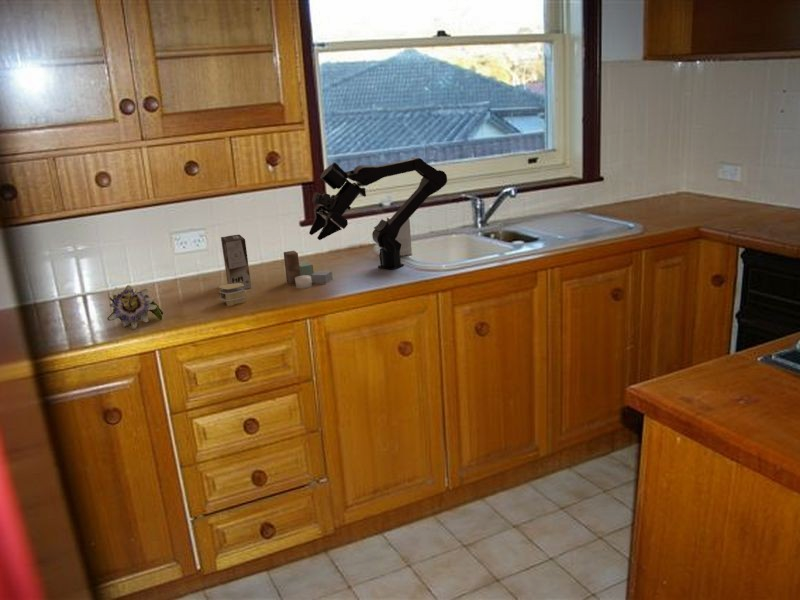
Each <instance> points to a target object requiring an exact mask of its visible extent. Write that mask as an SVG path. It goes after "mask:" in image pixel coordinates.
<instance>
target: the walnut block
mask: <svg viewBox="0 0 800 600" xmlns="http://www.w3.org/2000/svg"><path fill="white" fill-rule="evenodd" d="M283 260H284V268H285V269H284V270H285V276H286V277H285V278H286V283H287V284H288V285H289V286H294V285H295V286H296V283H295V277H297V276H300V268H299V263H300V260H299V253H298V252H297V251H295V250H289V251H288V250H287V251H283Z"/></svg>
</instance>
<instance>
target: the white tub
mask: <svg viewBox="0 0 800 600" xmlns="http://www.w3.org/2000/svg"><path fill="white" fill-rule="evenodd" d="M295 283H296V285H295V288H296V289H303V290H304V289H309V288H312V287H313V283H312V278H311V276H309V275H302V276H297V277H295Z"/></svg>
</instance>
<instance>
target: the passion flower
mask: <svg viewBox="0 0 800 600" xmlns="http://www.w3.org/2000/svg"><path fill="white" fill-rule="evenodd" d="M148 292H149V290H148V288H143V289H141V290H140V291H137V290H135V291H134V288H133V287H132V286H131V285H129V284H127V285H126V286H125V289H124V290H123V291H120V293H118V294H113V295H112V297H113V298H112V297H111V296H109V300H110V301H111V303H109V307H111V308H113V309H112V313H111V314H109V315H108V317H107V321H115V320H117V319H120V321H121V326H122V328H126V327H131V330H132V331H133V330H136V329H137V327H138V322H139V321H141V322H143V323H146V324H147V323H148V322H149V314H148V312H151V313H152V314H153V315H155V316H156V318H157V319H158V320H160V321H162V319H163V315H164V312H163V310H162V309H161V308H160V306H159V305H158V304H157V302H155V301H154V300H155V297H153V296H149V294H148Z"/></svg>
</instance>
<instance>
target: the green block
mask: <svg viewBox="0 0 800 600" xmlns="http://www.w3.org/2000/svg"><path fill="white" fill-rule="evenodd" d="M299 268H300V276H302V275H309V276H311V275H312V274H313V273H315V272H314V265H313V264H312V263H310V262H308V261H306V260H305V261H299Z"/></svg>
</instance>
